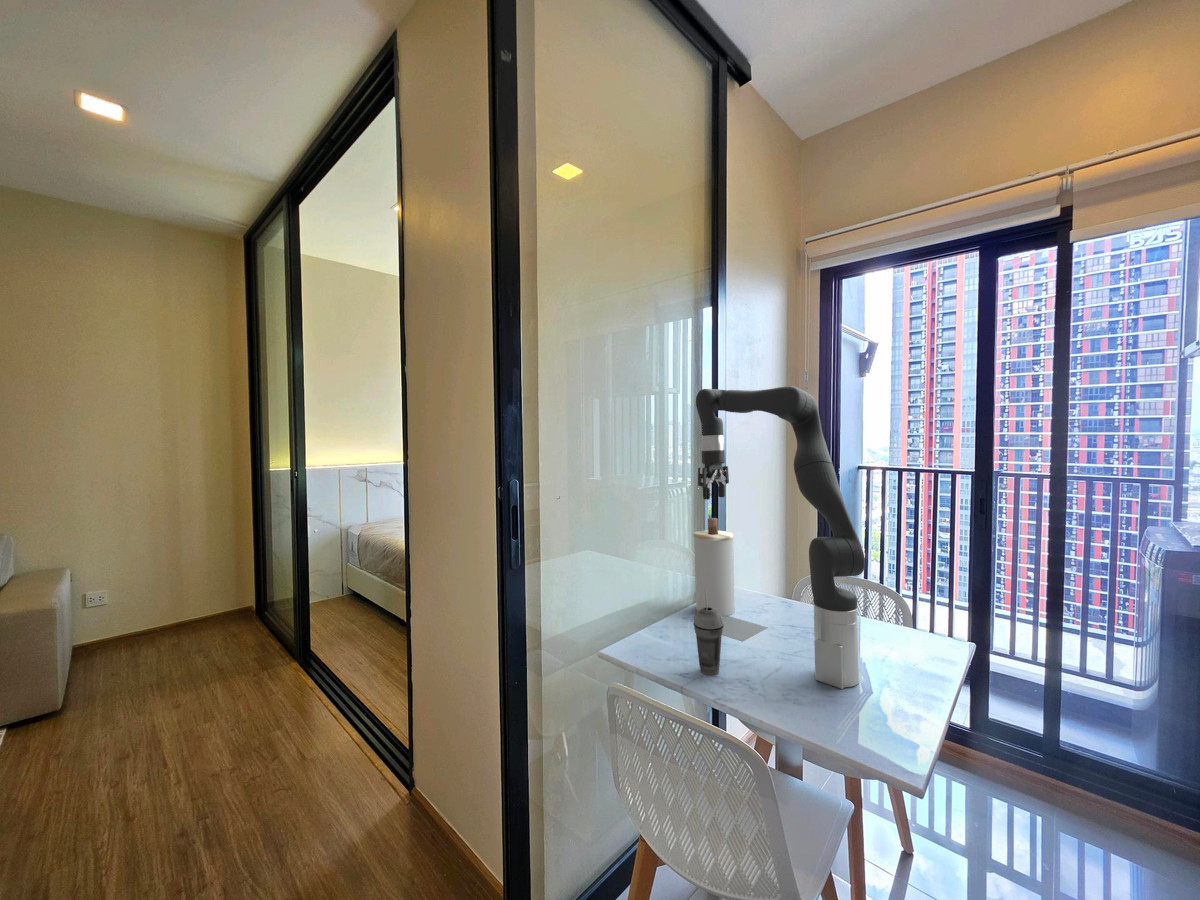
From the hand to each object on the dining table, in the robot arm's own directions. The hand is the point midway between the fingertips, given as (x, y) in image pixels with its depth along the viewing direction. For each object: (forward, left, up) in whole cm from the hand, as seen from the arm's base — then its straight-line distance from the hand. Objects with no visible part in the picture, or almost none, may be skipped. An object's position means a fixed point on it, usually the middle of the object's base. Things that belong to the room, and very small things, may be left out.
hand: (714, 498), depth 157 cm
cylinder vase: (0, +1, -38) cm, 38 cm away
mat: (-9, -12, -38) cm, 41 cm away
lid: (0, +1, -13) cm, 13 cm away
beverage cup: (-36, -22, -38) cm, 57 cm away
